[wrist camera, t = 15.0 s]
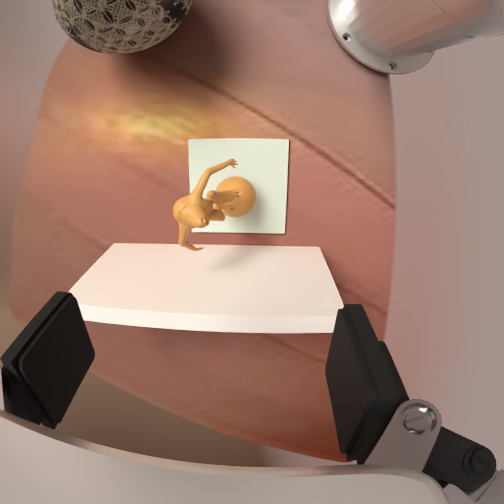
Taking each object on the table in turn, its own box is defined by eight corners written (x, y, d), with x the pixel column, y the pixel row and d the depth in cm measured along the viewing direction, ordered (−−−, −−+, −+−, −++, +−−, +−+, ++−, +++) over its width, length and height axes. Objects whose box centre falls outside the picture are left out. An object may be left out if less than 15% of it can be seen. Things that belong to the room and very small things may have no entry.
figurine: (239, 233, 33) (229, 293, 22) (187, 213, 32) (152, 263, 22) (270, 162, 30) (278, 189, 19) (215, 140, 29) (189, 153, 18)
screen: (319, 247, 34) (347, 315, 22) (317, 259, 35) (344, 332, 23) (114, 243, 35) (58, 302, 23) (116, 255, 35) (64, 317, 23)
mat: (288, 139, 29) (288, 139, 29) (284, 232, 34) (284, 233, 33) (189, 139, 30) (188, 139, 29) (192, 230, 34) (192, 232, 33)
